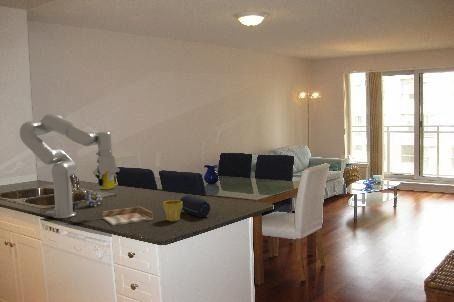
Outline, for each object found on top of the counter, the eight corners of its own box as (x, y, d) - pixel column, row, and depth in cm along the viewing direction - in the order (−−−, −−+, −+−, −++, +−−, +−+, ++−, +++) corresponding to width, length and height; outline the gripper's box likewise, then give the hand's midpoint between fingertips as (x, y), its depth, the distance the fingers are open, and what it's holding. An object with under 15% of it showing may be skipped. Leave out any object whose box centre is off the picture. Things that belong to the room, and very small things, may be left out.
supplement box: (107, 188, 259) (106, 169, 258) (115, 188, 256) (114, 169, 255) (100, 190, 254) (98, 171, 253) (108, 190, 251) (106, 171, 250)
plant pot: (186, 220, 240) (185, 202, 240) (169, 223, 235) (168, 204, 234) (177, 216, 249) (177, 199, 248) (160, 219, 243) (160, 201, 243)
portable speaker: (213, 217, 246) (212, 199, 245) (197, 219, 241) (196, 201, 240) (193, 209, 267) (192, 193, 266) (177, 211, 262) (177, 195, 261)
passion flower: (95, 215, 284) (86, 202, 276) (85, 210, 290) (77, 197, 283) (108, 203, 289) (100, 190, 282) (98, 198, 296) (90, 185, 289)
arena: (113, 225, 233) (112, 218, 232) (103, 218, 250) (102, 211, 249) (153, 219, 243) (152, 212, 243) (140, 213, 261) (140, 206, 260)
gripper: (94, 155, 245) (96, 187, 246) (122, 152, 256) (124, 183, 258) (87, 155, 250) (90, 186, 252) (115, 152, 262) (117, 182, 263)
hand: (107, 184), depth 255 cm, fingers closed on supplement box, 7 cm apart
